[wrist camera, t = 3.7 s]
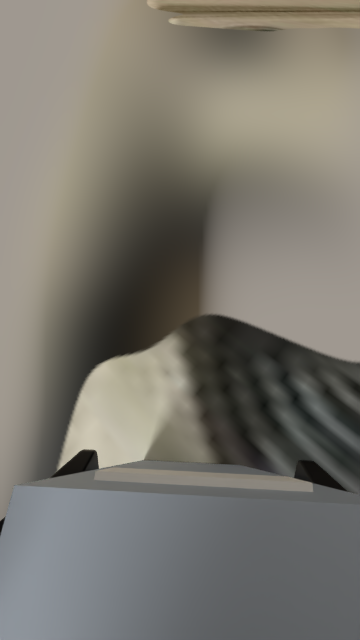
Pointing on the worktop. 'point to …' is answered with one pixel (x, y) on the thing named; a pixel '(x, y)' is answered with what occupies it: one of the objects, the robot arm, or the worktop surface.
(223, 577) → the grey rectangular block
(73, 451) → the worktop surface
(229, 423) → the worktop surface
